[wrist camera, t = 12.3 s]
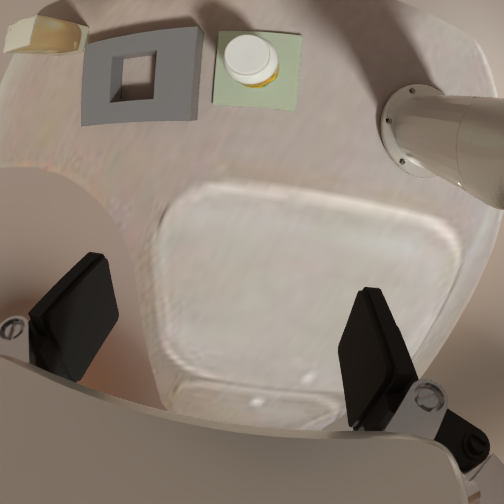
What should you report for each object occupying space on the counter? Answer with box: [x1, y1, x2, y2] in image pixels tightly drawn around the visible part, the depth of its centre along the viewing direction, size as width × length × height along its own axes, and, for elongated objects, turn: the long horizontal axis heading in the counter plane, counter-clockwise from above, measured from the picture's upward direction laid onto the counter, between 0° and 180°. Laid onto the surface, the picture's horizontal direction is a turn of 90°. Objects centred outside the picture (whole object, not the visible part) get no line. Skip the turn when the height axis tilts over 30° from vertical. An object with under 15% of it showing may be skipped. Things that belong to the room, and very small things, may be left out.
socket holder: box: [81, 26, 204, 126], centre depth 29 cm, size 16×12×3 cm
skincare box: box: [3, 14, 89, 55], centre depth 22 cm, size 6×4×12 cm
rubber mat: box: [213, 31, 303, 111], centre depth 29 cm, size 10×10×1 cm
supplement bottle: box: [223, 35, 279, 89], centre depth 25 cm, size 5×5×10 cm
